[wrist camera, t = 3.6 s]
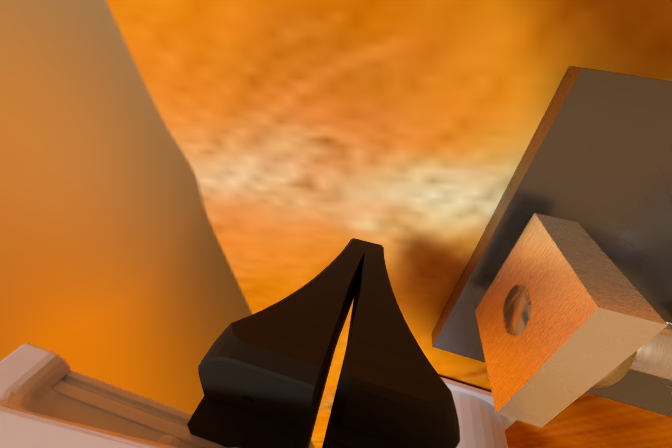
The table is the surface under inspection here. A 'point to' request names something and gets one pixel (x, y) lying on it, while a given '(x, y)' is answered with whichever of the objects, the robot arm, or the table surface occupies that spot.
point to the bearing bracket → (588, 205)
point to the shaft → (564, 323)
